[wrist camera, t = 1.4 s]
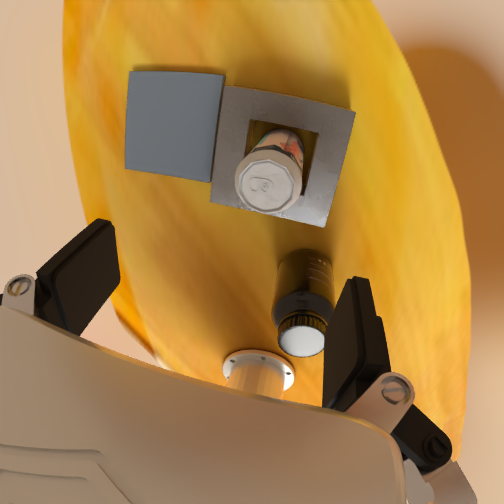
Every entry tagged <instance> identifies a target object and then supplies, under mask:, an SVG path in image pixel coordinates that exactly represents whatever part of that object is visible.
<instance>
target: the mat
mask: <svg viewBox="0 0 504 504" xmlns="http://www.w3.org/2000/svg"><path fill="white" fill-rule="evenodd" d="M224 82H225V75H217V74H205V73H191V72H169V71H130V73H129V84H128V96H127V111H126V134H125V169H130V170H137V171H143V172H150V173H156V174H162V175H168V176H174V177H180V178H185V179H191V180H197V181H202V182H207V183H210V182H211V181H212V172H213V164H214V155H215V147H216V139H217V131H218V124H219V116H220V109H221V102H222V95H223V88H224Z"/></svg>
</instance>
